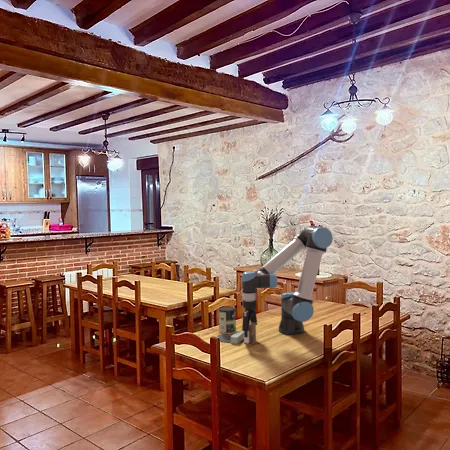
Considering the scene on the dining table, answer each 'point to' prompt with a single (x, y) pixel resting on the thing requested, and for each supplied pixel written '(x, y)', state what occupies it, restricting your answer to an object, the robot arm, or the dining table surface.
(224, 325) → the coffee can
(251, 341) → the walnut block
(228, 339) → the rubber mat
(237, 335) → the sage ledge
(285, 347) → the dining table surface
